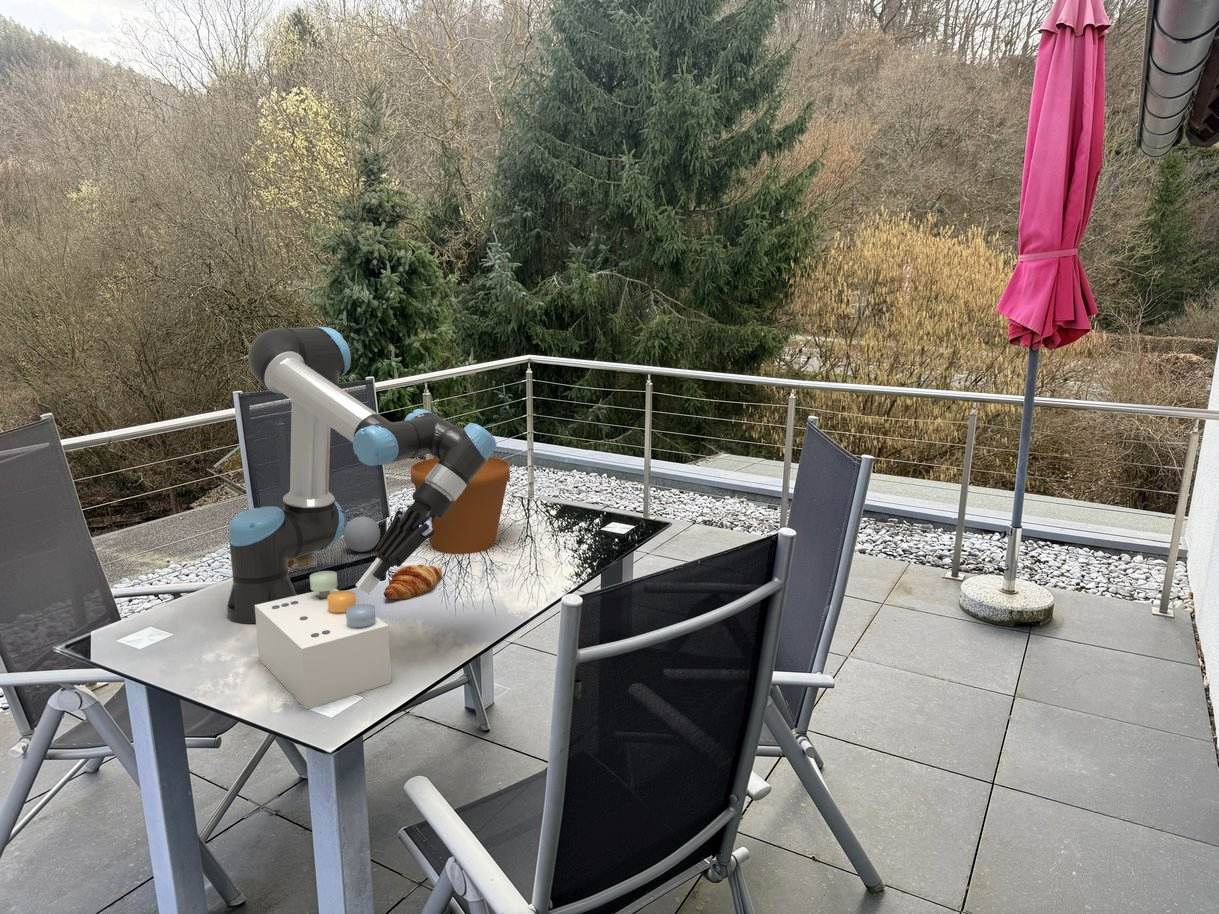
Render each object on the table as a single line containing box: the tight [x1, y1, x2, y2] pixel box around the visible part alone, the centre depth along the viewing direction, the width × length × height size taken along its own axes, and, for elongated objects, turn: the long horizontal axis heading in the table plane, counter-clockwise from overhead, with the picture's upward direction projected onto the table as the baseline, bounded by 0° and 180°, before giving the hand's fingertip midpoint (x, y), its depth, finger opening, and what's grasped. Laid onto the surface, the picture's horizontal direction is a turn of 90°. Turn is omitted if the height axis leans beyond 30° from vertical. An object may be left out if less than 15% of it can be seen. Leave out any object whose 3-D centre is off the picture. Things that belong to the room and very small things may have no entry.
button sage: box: [309, 570, 339, 600], centre depth 165 cm, size 5×5×6 cm
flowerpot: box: [410, 456, 511, 555], centre depth 236 cm, size 28×28×24 cm
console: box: [255, 587, 392, 711], centre depth 157 cm, size 16×26×12 cm, turn 40°
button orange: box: [327, 590, 357, 613], centre depth 159 cm, size 5×5×6 cm
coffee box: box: [281, 508, 318, 573], centre depth 215 cm, size 9×6×16 cm
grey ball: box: [342, 516, 381, 553], centre depth 230 cm, size 10×10×10 cm
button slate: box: [346, 603, 377, 628], centre depth 152 cm, size 5×5×6 cm
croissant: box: [383, 564, 443, 600], centre depth 201 cm, size 21×10×8 cm, turn 156°
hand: (362, 589), depth 155 cm, fingers closed
